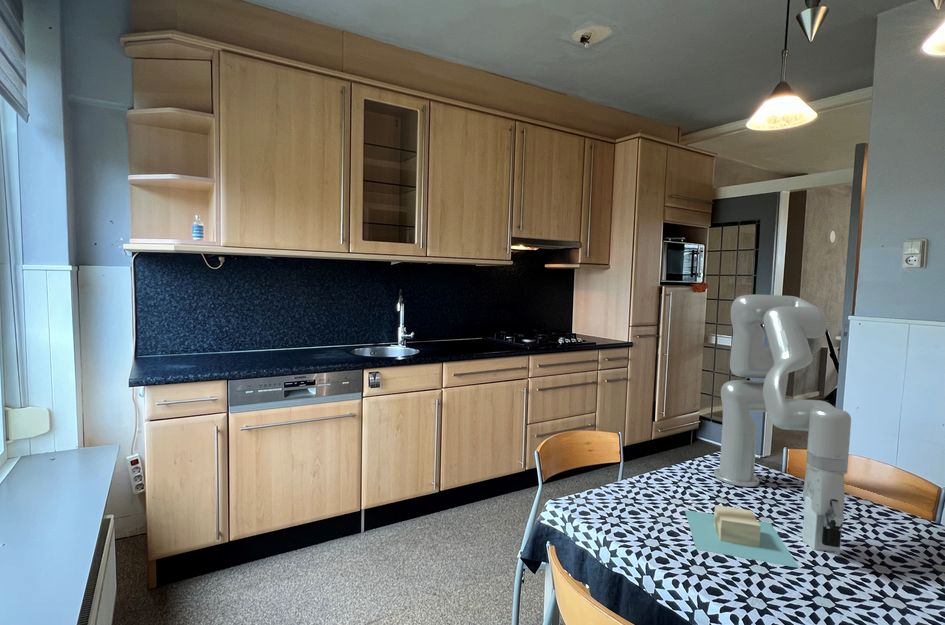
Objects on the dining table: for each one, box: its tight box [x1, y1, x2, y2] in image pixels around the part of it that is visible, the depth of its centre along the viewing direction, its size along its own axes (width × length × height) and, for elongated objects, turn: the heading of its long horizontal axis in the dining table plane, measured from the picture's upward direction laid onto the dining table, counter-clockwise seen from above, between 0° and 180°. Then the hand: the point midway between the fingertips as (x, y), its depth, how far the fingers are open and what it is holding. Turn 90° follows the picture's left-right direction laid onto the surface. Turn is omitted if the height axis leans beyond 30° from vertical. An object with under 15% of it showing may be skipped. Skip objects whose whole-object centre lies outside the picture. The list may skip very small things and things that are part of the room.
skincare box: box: [801, 497, 842, 556], centre depth 108 cm, size 6×4×12 cm
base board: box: [684, 509, 800, 569], centre depth 112 cm, size 20×20×1 cm
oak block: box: [714, 504, 761, 547], centre depth 112 cm, size 8×8×5 cm
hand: (821, 534), depth 108 cm, fingers open, 9 cm apart
